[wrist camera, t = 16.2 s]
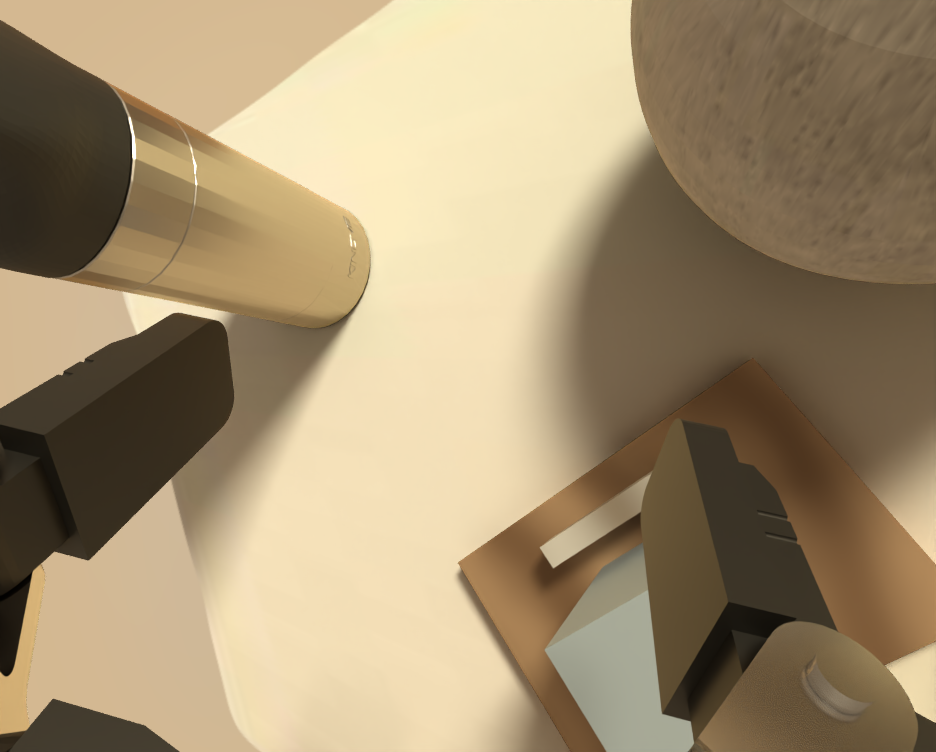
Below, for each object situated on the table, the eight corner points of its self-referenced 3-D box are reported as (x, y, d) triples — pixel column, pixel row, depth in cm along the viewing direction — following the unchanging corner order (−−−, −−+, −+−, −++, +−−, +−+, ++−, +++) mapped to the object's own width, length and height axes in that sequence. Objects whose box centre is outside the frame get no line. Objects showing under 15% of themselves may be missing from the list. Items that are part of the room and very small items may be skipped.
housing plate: (603, 780, 30) (576, 871, 24) (468, 556, 34) (416, 587, 28) (968, 606, 24) (1050, 671, 18) (751, 359, 28) (760, 347, 22)
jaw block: (661, 654, 28) (631, 793, 18) (602, 566, 29) (544, 649, 19) (749, 608, 26) (769, 731, 16) (682, 518, 28) (663, 580, 18)
